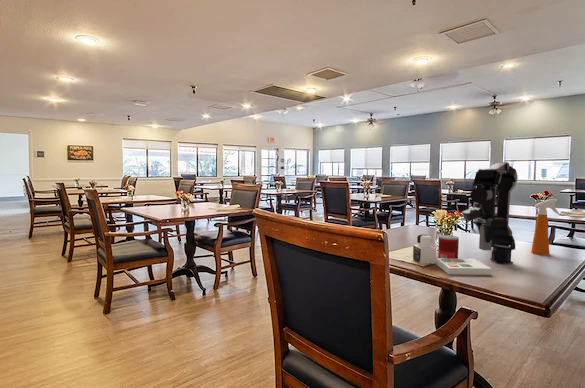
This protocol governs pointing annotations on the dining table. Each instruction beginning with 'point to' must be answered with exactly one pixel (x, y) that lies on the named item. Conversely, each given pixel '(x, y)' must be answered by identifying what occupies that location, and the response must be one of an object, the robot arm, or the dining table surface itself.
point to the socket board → (463, 266)
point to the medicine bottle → (424, 250)
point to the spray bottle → (542, 228)
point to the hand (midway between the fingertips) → (485, 241)
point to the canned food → (448, 246)
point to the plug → (484, 240)
